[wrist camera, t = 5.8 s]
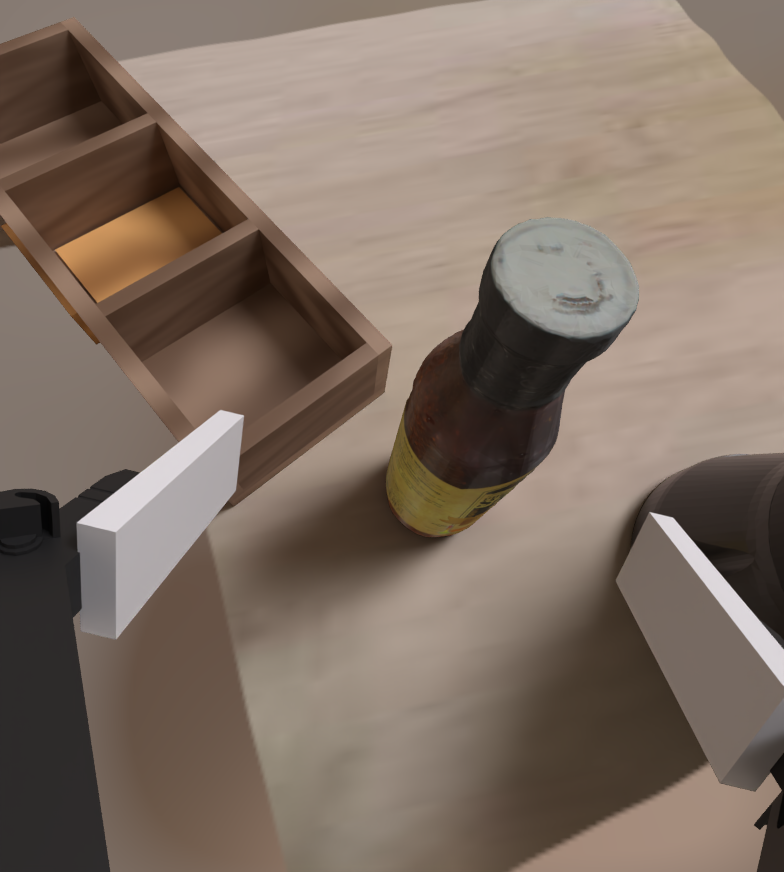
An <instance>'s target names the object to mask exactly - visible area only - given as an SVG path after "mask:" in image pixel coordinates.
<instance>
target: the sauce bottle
mask: <svg viewBox="0 0 784 872" xmlns="http://www.w3.org/2000/svg"><path fill="white" fill-rule="evenodd" d="M638 301H639V285H638V282H637V279H636V276H635V273H634V271H633V269H632V266H631V264H630V262H629V261H628V259H627V258H626V257H625V255H624V254H623V253H622V252H621V251H620V250H619V248H618V247H617V246H616V245H615V244H614V243H613V242H612V241H611V240H610V239H609V238H608V237H607V236H606V235H604V234H603V233H601V232H599V231H597V230H595V229H594V228H592V227H590V226H588V225H584V224H581V223H579V222H577V221H573V220H568V219H562V218H550V217H546V218H541V219H529V220H528V221H526V222H523V223H519V224H517V225H516V226H514V227H513V228H511V229H509V230H508V231H507V232H506V233H504V234H503V235H502V236H501V238H500V239H499V240H498V241H497V243H496V245H495V246H494V248H493V250H492V252H491V255H490V257H489V259H488V262H487V264H486V267H485V269H484V271H483V275H482V279H481V283H480V288H479V302H478V305H477V307H476V309H475V311H474V314H473V316H472V319H471V320H470V321H469V322H468V324H467V325H466V327H465V329H464V330H462V331H459V332H457V333H455V334H454V335H452V336H451V337H448V338H447V339H445V340H444V341H443V342H442V343H440V344H439V345H438V346H436V347H435V348H434V349H433V350H432V351H431V352H430V354H429V355H428V356H427V357H426V358H425V360H424V361H423V363H422V365H421V367H420V369H419V371H418V372H417V374H416V378H415V379H414V382H413V390H412V392H411V394H410V396H409V398H408V399H407V401H406V405H405V408H404V412H403V415H402V419H401V422H400V426H399V429H398V433H397V436H396V440H395V443H394V447H393V450H392V454H391V457H390V461H389V465H388V469H387V474H386V491H387V497H388V502H389V506H390V508H391V510H392V513H393V514H394V515H395V516H396V517H397V519H398V520H399V521H400V522H401V523H402V524H403V525H404V526H405V527H407V528H408V529H410V530H411V531H413V532H415V533H416V534H419V535H422V536H425V537H442V536H451V535H453V534H456V533H459V532H461V531H463V530H465V529H467V528H469V527H470V526H471V525H473V524H474V523H475V522H476V521H477V520H478V519H479V518H480V517H482V516H483V515H484V514H485V513H486V512H487V511H488V510H489V509H490V508H492V507H493V506H495V505H496V503H497V502H498V501H499V500H501V499H502V498H503V497H504V496H506V495H507V494H508V493H509V492H510V491H511V490H513V489H514V488H515V486H516V485H517V484H518V483H519V482H521V481H522V480H523V479H524V478H526V476H527V475H529V474H530V473H531V472H533V471H534V469H535V468H536V467H537V466H538V465H539V464H540V463H541V462H542V461H543V460H544V459H545V458H546V457H547V455H548V454H549V453H550V451H551V450H552V448H553V446H554V444H555V442H556V439H557V436H558V431H559V426H560V418H561V410H562V403H563V398H564V393H565V389H566V387H567V386H568V384H569V383H570V380H571V379H572V378H573V377H574V375H576V373H577V372H578V371H579V370H580V369H581V367H582V366H583V365H584V364H585V363H586V362H587V361H590V360H592V359H594V358H596V357H597V356H599V355H601V354H602V353H603V352H605V351H606V350H607V349H608V348H609V346H610V345H611V344H612V343H613V342H614V341H615V339H616V338H617V337H618V335H619V334H620V332H621V331H622V330H623V328H624V327H625V326H626V325H627V324H628V323H629V321H630V319H631V317H632V316H633V314H634V312H635V311H636V307H637V304H638Z"/></svg>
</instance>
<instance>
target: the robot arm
mask: <svg viewBox="0 0 784 872" xmlns="http://www.w3.org/2000/svg"><path fill="white" fill-rule="evenodd" d="M243 421H244V415H240V414H235V413H231V412H227V411H223V410H220V411H218V412H217V413H216V414H215V415H213V416H212V417H211V418H209V419H208V420H207V421H206V422H204V423H203V424H202V425H201V426H199V427H198V428H197V429H195V430H194V431H193V432H192V433H190V434H189V435H188V436H187V437H185V438H184V439H183V440H181V441H180V442H179V443H178V444H177V445H175V446H174V447H173V448H171V449H170V450H169V451H167V452H166V453H165V454H164V455H162V456H161V457H160V458H158V459H157V460H156V461H155V462H153V463H152V464H151V465H150V466H148V467H147V468H146V469H145V470H143V471H142V472H141V473H139V472H135V471H131V470H126V469H125V470H122V471H120V472H116V473H113V474H110V475H108V476H105V477H104V478H102V479H101V480H100V481H98V482H97V483H95V484H94V485H92V486H91V487H90V489H87V490H85V491H84V492H82V493H81V494H80V495H79V496H78V498H74V499H73V500H71V501H70V502H68V503H67V504H66V505H65V506H63V507H61V508H60V509H59V502H58V500H57V499H56V497H55V496H54V495H52V494H50V493H48V492H46V491H42V490H36V489H13V490H7V491H3V492H0V872H110V867H109V860H108V855H107V847H106V840H105V834H104V827H103V820H102V813H101V807H100V800H99V793H98V786H97V780H96V773H95V766H94V759H93V752H92V746H91V739H90V733H89V725H88V718H87V712H86V705H85V698H84V692H83V684H82V678H81V671H80V664H79V657H78V651H77V644H76V637H75V631H74V624H73V617H74V616H75V615H76V614H77V613H78V612H79V611H80V625H81V626H80V627H81V631H82V632H86V633H90V634H94V635H98V636H103V637H107V638H111V639H115V640H116V639H117V638H118V636H119V635H120V634H121V633H122V631H123V630H124V629H125V628H126V627H127V625H128V624H129V623H130V622H131V620H132V619H133V618H134V617H135V615H136V614H137V613H138V612H139V610H140V609H141V608H142V607H143V605H144V604H145V603H146V602H147V600H148V599H149V598H150V597H151V595H152V594H153V593H154V592H155V590H156V589H157V588H158V586H159V585H160V584H161V583H162V582H163V581H164V579H165V578H166V577H167V576H168V574H169V573H170V572H171V571H172V569H173V568H174V567H175V566H176V564H177V563H178V562H179V561H180V559H181V558H182V557H183V556H184V554H185V553H186V552H187V551H188V549H189V548H190V547H191V546H192V545H193V543H194V542H195V541H196V540H197V538H198V537H199V536H200V535H201V533H202V532H203V531H204V530H205V528H206V527H207V526H208V525H209V523H210V522H211V521H212V520H213V518H214V517H215V516H216V515H217V513H218V512H219V511H220V510H221V508H222V507H223V506H224V505H225V504H226V502H227V501H228V500H229V499H230V497H231V496H232V495H233V494H234V492H235V491H236V485H237V476H238V467H239V458H240V448H241V439H242V430H243ZM616 583H617V585H618V587H619V589H620V591H621V593H622V595H623V596H624V598H625V600H626V602H627V604H628V606H629V608H630V610H631V612H632V614H633V616H634V618H635V620H636V622H637V624H638V625H639V627H640V629H641V631H642V633H643V635H644V637H645V639H646V641H647V643H648V645H649V647H650V649H651V651H652V653H653V655H654V656H655V658H656V660H657V662H658V664H659V666H660V668H661V670H662V672H663V674H664V676H665V678H666V680H667V682H668V684H669V686H670V687H671V689H672V691H673V693H674V695H675V697H676V699H677V701H678V703H679V705H680V707H681V709H682V711H683V713H684V715H685V717H686V718H687V720H688V722H689V724H690V726H691V728H692V730H693V732H694V734H695V736H696V738H697V740H698V742H699V744H700V746H701V747H702V749H703V751H704V753H705V755H706V757H707V759H708V761H709V763H710V765H711V767H712V769H713V771H714V772H715V775H716V777H717V778H718V780H719V782H720V783H721V784H725V785H730V786H734V787H738V788H742V789H747V790H750V791H756V790H757V788H758V787H759V786H760V785H761V784H762V782H763V781H764V780H765V779H766V777H767V776H768V775H769V774H770V772H771V773H772V775H773V777H774V778H775V780H776V782H777V783H778V785H779V786H780V788H781V789H782V791H781V793H780V794H779V795H778V797H776V799H775V800H774V801H773V802H772V803H771V805H770V806H769V807H768V808H767V809H766V811H765V812H764V813H763V814H762V815H761V817H760V818H759V819H758V820H757V822H756V823H755V824H754V826H756V827H757V828H758V829H759V830H760V829H761V828H762V827H763V826H764V825H767V829H766V834H765V838H764V842H763V847H762V851H761V856H760V860H759V864H758V869H757V872H784V453H773V454H753V455H748V454H734V455H725V456H720V457H716V458H711V459H708V460H705V461H702V462H700V463H697V464H695V465H693V466H691V467H689V468H686V469H684V470H682V471H680V472H678V473H676V474H674V475H672V476H670V477H669V478H667V479H666V480H665V481H663V482H662V483H661V484H660V485H659V486H658V487H657V488H656V489H655V490H654V491H653V492H652V493H651V494H650V496H649V497H648V498H647V500H646V501H645V503H644V505H643V506H642V508H641V510H640V513H639V515H638V517H637V520H636V523H635V526H634V530H633V535H632V541H631V550H630V552H629V554H628V556H627V558H626V560H625V562H624V564H623V567H622V569H621V571H620V573H619V575H618V577H617V579H616Z"/></svg>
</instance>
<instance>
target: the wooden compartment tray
mask: <svg viewBox="0 0 784 872" xmlns="http://www.w3.org/2000/svg"><path fill="white" fill-rule="evenodd" d="M0 215H1V216H2V218H3V219H4V220H5V221H6V224H4V225H2V226H1V227H2V228H3V229H4V231H5V232H6V233H7V235H8V236H9V237H10V238H11V240H12V241H13V242H14V244H15V245H16V246H17V247H18V249H19V250H20V251H21V253H22V254H23V255H24V256H25V257H26V259H27V260H28V262H29V263H30V264H31V265H32V267H33V268H34V269H35V271H36V272H37V273H38V274H39V276H40V277H41V278H42V280H43V281H44V282H45V283H46V285H47V286H48V287H49V288H50V290H51V291H52V292H53V294H54V295H55V296H56V297H57V299H58V300H59V301H60V303H61V304H62V305H63V306H64V308H65V309H66V310H67V312H68V313H69V314H70V315H71V317H72V318H73V319H74V320H75V321H76V322H77V323H78V324H79V326H80V327H81V328H82V329H83V330H84V331H85V332H86V333H87V335H88V336H89V337H90V338H91V339H92V340H93V341H94V342H95V343H96V344H98V343H100V342H101V344H102V345H103V346H104V348H105V349H106V350H107V351H108V353H109V354H110V355H111V356H112V358H113V359H114V360H115V362H116V363H117V364H118V365H119V367H120V368H121V369H122V370H123V372H124V373H125V374H126V376H127V377H128V378H129V379H130V381H131V382H132V383H133V384H134V386H135V387H136V388H137V390H138V391H139V392H140V393H141V394H142V396H143V397H144V399H145V400H146V401H147V402H148V404H149V405H150V406H151V407H152V409H153V410H154V411H155V412H156V414H157V415H158V416H159V418H160V419H161V420H162V421H163V423H164V424H165V425H166V427H167V428H168V429H169V430H170V432H171V433H172V434H173V435H174V437H175V438H176V439H177V441H178V442H180V441H181V440H183V439H184V438H185V437H187V436H188V435H189V434H190V433H192V432H193V431H194V430H195V429H197V428H198V427H199V426H201V425H202V424H203V423H204V422H206V421H207V420H208V419H209V418H211V417H212V416H213V415H215V414H216V413H217V412H218V411H220V410H223V411H227V412H231V413H235V414H240V415H244V421H243V430H242V439H241V448H240V458H239V467H238V476H237V485H236V491H235V492H234V494H233V495H232V496H231V497H230V499H229V500H228V501H229V502H230V503H231V504H232V505H233V506H235V505H236V504H238V503H239V502H240V501H242V500H243V499H244V498H246V497H247V496H248V495H250V494H251V493H252V492H254V491H255V490H256V489H258V488H259V487H260V486H262V485H263V484H264V483H266V482H267V481H268V480H269V479H271V478H272V477H273V476H275V475H276V474H277V473H279V472H280V471H281V470H283V469H284V468H285V467H287V466H288V465H289V464H291V463H292V462H293V461H295V460H296V459H297V458H298V457H300V456H301V455H302V454H304V453H305V452H306V451H308V450H309V449H310V448H312V447H313V446H314V445H316V444H317V443H318V442H320V441H321V440H322V439H324V438H325V437H326V436H327V435H329V434H330V433H331V432H333V431H334V430H335V429H337V428H338V427H339V426H341V425H342V424H343V423H345V422H346V421H347V420H349V419H350V418H351V417H353V416H354V415H355V414H356V413H358V412H359V411H360V410H362V409H363V408H364V407H366V406H367V405H368V404H370V403H371V402H372V401H374V400H375V399H376V398H378V397H379V396H380V395H382V394H383V393H384V392H385V386H386V380H387V374H388V368H389V362H390V356H391V350H392V344H391V343H390V342H389V341H388V340H387V339H386V338H385V337H384V336H383V335H382V334H381V333H380V332H379V331H378V330H377V329H376V328H375V327H374V326H373V325H372V324H371V323H370V322H369V321H368V320H367V319H366V317H365V316H364V315H363V314H362V313H361V312H360V311H359V310H358V309H357V308H356V307H355V306H354V305H353V304H352V303H351V302H350V301H349V300H348V299H347V298H346V297H345V296H344V295H343V294H342V293H341V292H340V291H339V290H338V289H337V288H336V287H335V286H334V285H333V283H332V282H331V281H330V280H329V279H328V278H327V277H326V276H325V275H324V274H323V273H322V272H321V271H320V270H319V269H318V268H317V267H316V266H315V265H314V264H313V263H312V262H311V261H310V260H309V259H308V258H307V257H306V256H305V255H304V254H303V253H302V252H301V250H300V249H299V248H298V247H297V246H296V245H295V244H294V243H293V242H292V241H291V240H290V239H289V238H288V237H287V236H286V235H285V234H284V233H283V232H282V231H281V230H280V229H279V228H278V227H277V226H276V225H275V224H274V223H273V222H272V221H271V220H270V219H269V218H268V216H267V215H266V214H265V213H264V212H263V211H262V210H261V209H260V208H259V207H258V206H257V205H256V204H255V203H254V202H253V201H252V200H251V199H250V198H249V197H248V196H247V195H246V194H245V193H244V192H243V191H242V190H241V189H240V188H239V187H238V186H237V185H236V184H235V182H234V181H233V180H232V179H231V178H230V177H229V176H228V175H227V174H226V173H225V172H224V171H223V170H222V169H221V168H220V167H219V166H218V165H217V164H216V163H215V162H214V161H213V160H212V159H211V158H210V157H209V156H208V155H207V154H206V153H205V152H204V151H203V149H202V148H201V147H200V146H199V145H198V144H197V143H196V142H195V141H194V140H193V139H192V138H191V137H190V136H189V135H188V134H187V133H186V132H185V131H184V130H183V129H182V128H181V127H180V126H179V125H178V124H177V123H176V122H175V121H174V120H173V119H172V118H171V117H170V115H169V114H168V113H167V112H166V111H165V110H164V109H163V108H162V107H161V106H160V105H159V104H158V103H157V102H156V101H155V100H154V99H153V98H152V97H151V96H150V95H149V94H148V93H147V92H146V91H145V90H144V89H143V88H142V87H141V86H140V85H139V84H138V83H137V81H136V80H135V79H134V78H133V77H132V76H131V75H130V74H129V73H128V72H127V71H126V70H125V69H124V68H123V67H122V66H121V65H120V64H119V63H118V62H117V61H116V60H115V59H114V58H113V57H112V56H111V55H110V54H109V53H108V52H107V51H106V50H105V49H104V47H102V46H101V44H100V43H99V42H98V41H97V40H96V39H95V38H94V37H93V36H92V35H91V34H90V33H89V32H88V31H87V30H86V29H85V28H84V27H83V26H82V25H81V24H80V23H79V22H78V21H77V20H76V19H75V18H74V17H73V18H70V19H68V20H65V21H62V22H59V23H57V24H54V25H51V26H48V27H46V28H43V29H40V30H37V31H35V32H32V33H29V34H26V35H24V36H21V37H18V38H16V39H13V40H10V41H7V42H4V43H2V44H0Z"/></svg>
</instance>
